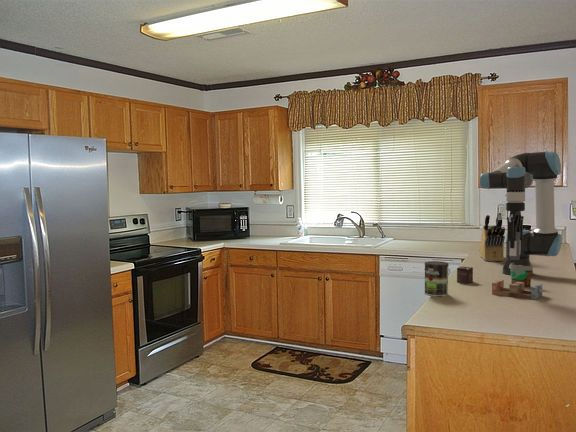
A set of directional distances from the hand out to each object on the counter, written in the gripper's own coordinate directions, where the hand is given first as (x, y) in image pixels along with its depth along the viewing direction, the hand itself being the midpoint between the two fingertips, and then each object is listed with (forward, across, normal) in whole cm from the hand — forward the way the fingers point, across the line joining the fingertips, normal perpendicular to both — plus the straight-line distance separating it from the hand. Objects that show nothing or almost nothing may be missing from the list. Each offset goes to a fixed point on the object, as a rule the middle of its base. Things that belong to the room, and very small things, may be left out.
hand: (514, 255), depth 230 cm
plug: (+2, 0, 0) cm, 2 cm away
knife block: (+16, -95, -49) cm, 108 cm away
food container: (+17, -20, -6) cm, 28 cm away
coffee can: (+18, +22, -26) cm, 38 cm away
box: (+17, -13, -29) cm, 36 cm away
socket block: (+17, +1, +2) cm, 17 cm away
